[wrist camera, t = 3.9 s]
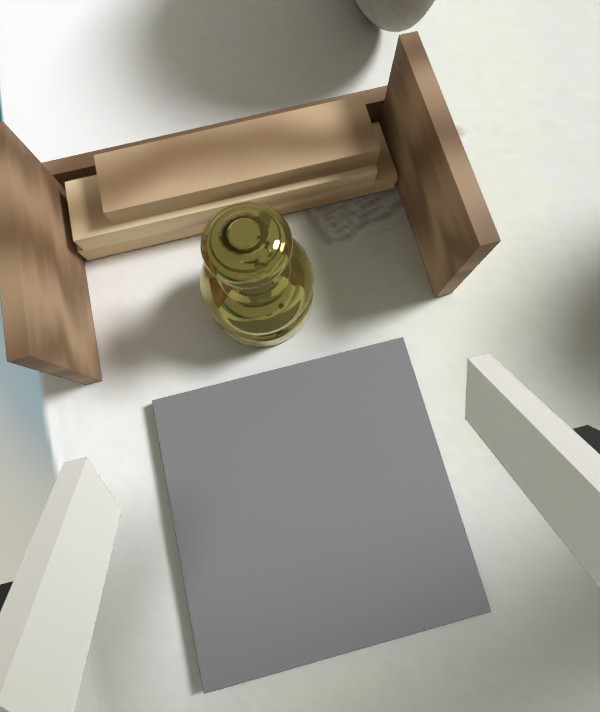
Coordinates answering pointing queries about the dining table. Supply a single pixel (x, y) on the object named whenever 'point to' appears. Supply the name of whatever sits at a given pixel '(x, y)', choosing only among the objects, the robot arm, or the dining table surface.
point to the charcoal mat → (312, 514)
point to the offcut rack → (227, 198)
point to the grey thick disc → (394, 12)
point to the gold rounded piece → (255, 275)
